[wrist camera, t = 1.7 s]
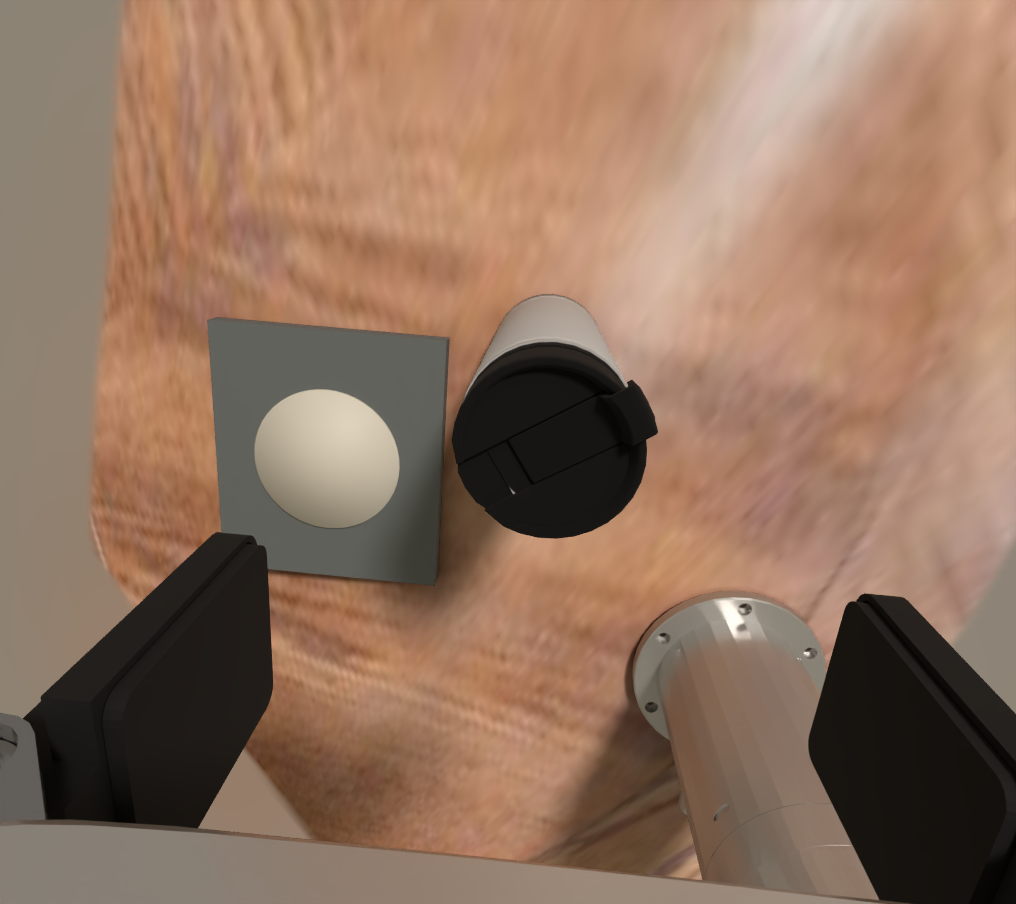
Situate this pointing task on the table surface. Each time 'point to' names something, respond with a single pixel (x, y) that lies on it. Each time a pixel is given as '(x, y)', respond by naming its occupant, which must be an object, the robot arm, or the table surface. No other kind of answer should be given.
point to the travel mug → (551, 424)
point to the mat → (331, 446)
